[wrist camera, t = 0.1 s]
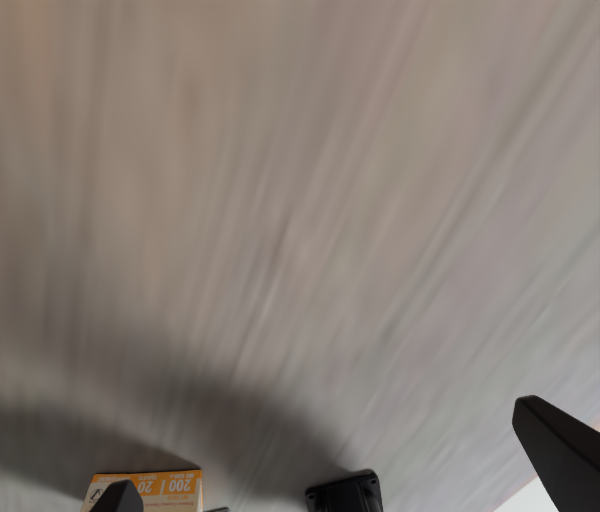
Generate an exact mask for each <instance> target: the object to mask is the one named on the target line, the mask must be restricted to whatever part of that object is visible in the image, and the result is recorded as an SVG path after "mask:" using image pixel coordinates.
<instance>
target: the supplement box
mask: <svg viewBox="0 0 600 512" xmlns="http://www.w3.org/2000/svg"><path fill="white" fill-rule="evenodd" d="M125 479H130V480H132V482H133V483H134V485H135V487H136V489H137V490H138V492H139V494H140V496H141V498H142V500H143V505H144V512H202V507H203V500H202V470H189V471H175V472H157V473H140V474H95V475H94V476H93V479H92V481H91V484H90V486H89V489H88V491H87V494H86V497H85V499H84V502H83V505H82V507H81V510H80V512H89V511H90V510H91V508H92V507H93V506H94V504H95V503H96V502H97V500H98V499H99V497H100V496H101V495H102V493H103V492H104V491H105V489H106V488H107V487H108V486H109V485H110V484H111V483H113V482H116V481H120V480H125Z"/></svg>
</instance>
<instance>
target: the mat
mask: <svg viewBox="0 0 600 512" xmlns="http://www.w3.org/2000/svg"><path fill="white" fill-rule="evenodd" d="M215 512H230V511H229V509H228V508H227V509H223V510H219V511H215Z"/></svg>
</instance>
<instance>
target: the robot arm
mask: <svg viewBox="0 0 600 512" xmlns="http://www.w3.org/2000/svg"><path fill="white" fill-rule="evenodd" d="M512 425H513V428H514V431H515V433H516V435H517V437H518V439H519V441H520V442H521V444H522V446H523V448H524V450H525V452H526V454H527V456H528V457H529V459H530V461H531V463H532V465H533V467H534V469H535V471H536V472H537V474H538V476H539V478H540V480H541V482H542V484H543V486H544V487H545V489H546V491H547V493H548V494H549V496H550V498H551V500H552V501H553V503H554V504H555V506H556V508H557V509H558V511H559V512H600V432H598V431H596V430H595V429H593V428H591V427H589V426H588V425H586V424H584V423H583V422H581V421H579V420H577V419H576V418H574V417H572V416H571V415H569V414H567V413H566V412H564V411H562V410H560V409H559V408H557V407H555V406H554V405H552V404H550V403H548V402H547V401H545V400H543V399H542V398H540V397H538V396H535V395H529V396H524V397H519V398H517V399H516V401H515V407H514V412H513V418H512ZM305 497H306V501H307V504H308V508H309V511H310V512H383V506H382V498H381V491H380V484H379V479H378V476H377V475H376V474H370V475H366V476H361V477H357V478H353V479H349V480H345V481H341V482H337V483H333V484H328V485H324V486H320V487H316V488H312V489H308V490H307V491H306V492H305ZM89 512H144V505H143V500H142V498H141V496H140V494H139V492H138V490H137V489H136V487H135V485H134V483H133V482H132V480H130V479H125V480H120V481H116V482H113V483H111V484H110V485H109V486H108V487H107V488H106V489H105V491H104V492H103V493H102V495H101V496H100V497H99V499H98V500H97V502H96V503H95V504H94V506H93V507H92V508H91V510H90V511H89Z"/></svg>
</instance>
